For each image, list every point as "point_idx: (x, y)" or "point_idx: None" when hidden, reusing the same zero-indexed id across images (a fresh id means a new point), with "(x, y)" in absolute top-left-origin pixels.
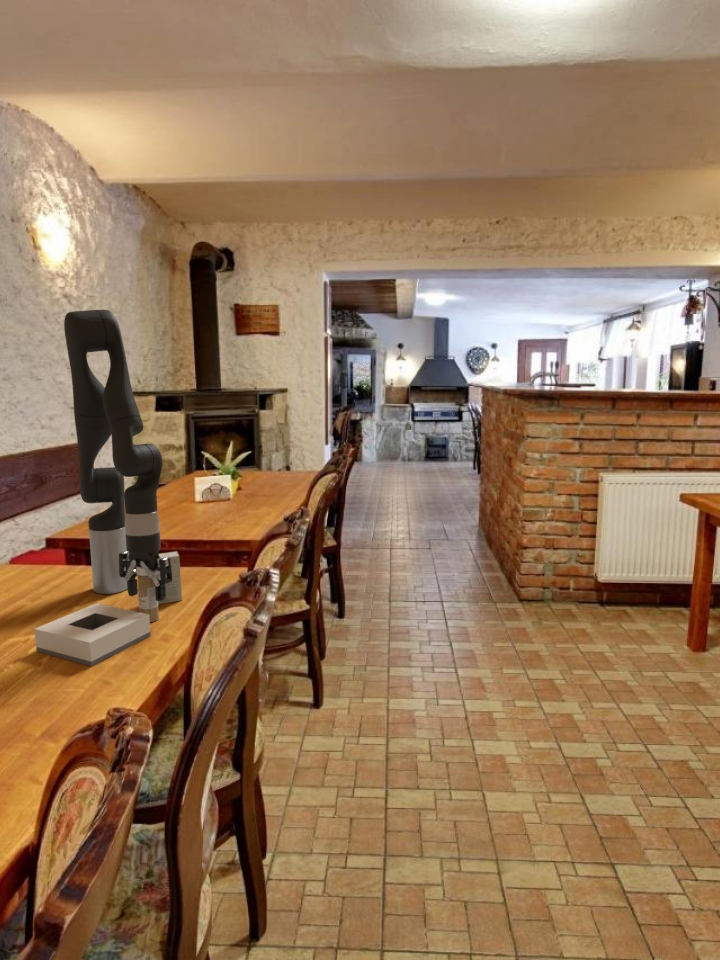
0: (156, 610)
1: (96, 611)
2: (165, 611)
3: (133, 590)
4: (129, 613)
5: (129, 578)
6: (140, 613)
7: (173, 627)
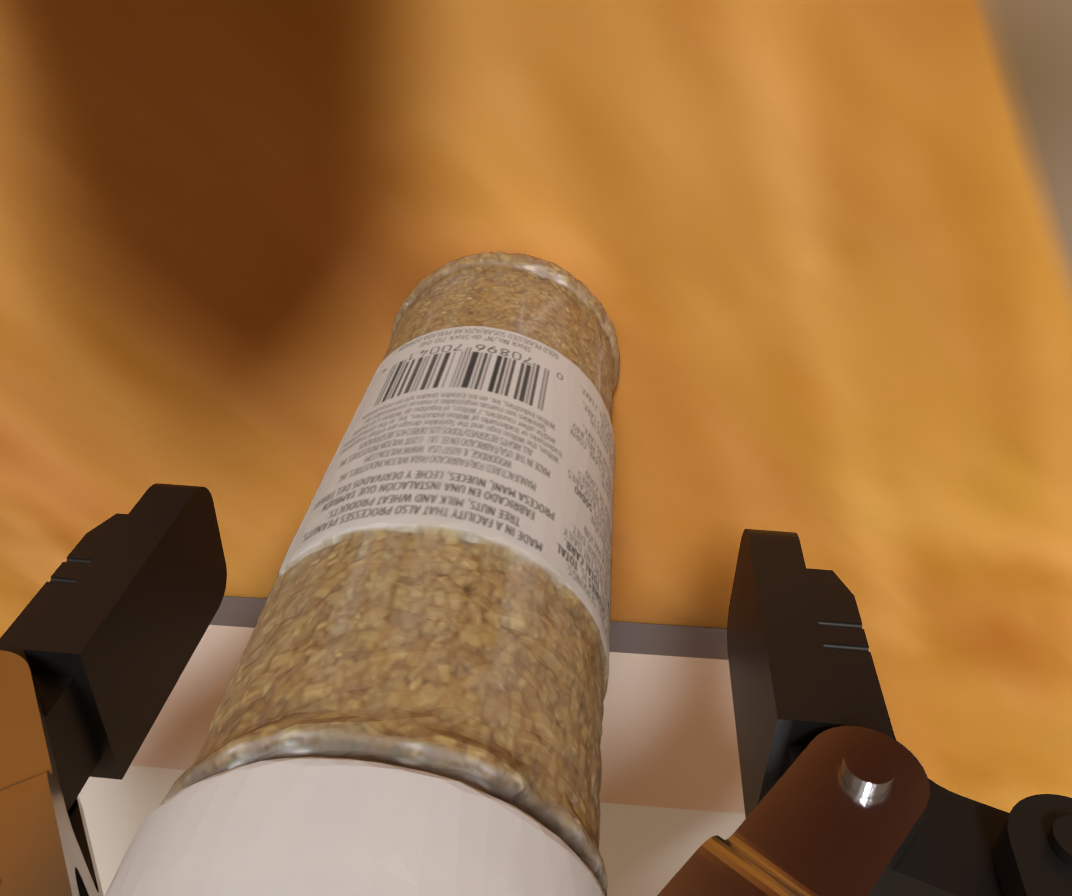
0: (611, 409)
1: None
2: (493, 52)
3: (188, 599)
4: (613, 847)
5: (88, 839)
6: (731, 825)
7: (927, 424)
